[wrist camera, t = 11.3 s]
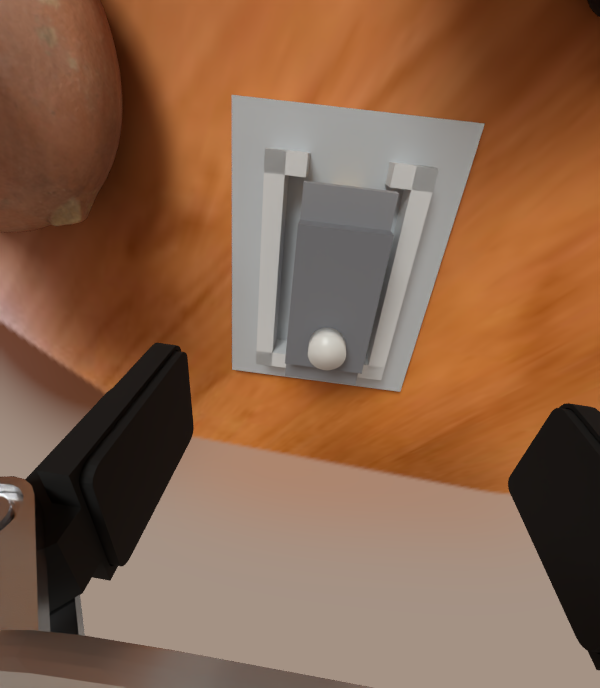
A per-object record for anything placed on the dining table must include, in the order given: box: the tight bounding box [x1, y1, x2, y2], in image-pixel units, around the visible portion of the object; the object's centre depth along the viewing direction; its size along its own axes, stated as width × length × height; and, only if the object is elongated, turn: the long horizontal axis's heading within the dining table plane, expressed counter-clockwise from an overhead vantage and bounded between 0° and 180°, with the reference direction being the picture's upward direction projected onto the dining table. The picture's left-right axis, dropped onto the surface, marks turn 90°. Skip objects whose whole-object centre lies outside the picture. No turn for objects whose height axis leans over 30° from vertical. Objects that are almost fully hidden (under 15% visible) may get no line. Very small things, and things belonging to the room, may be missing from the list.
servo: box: [285, 181, 399, 385], centre depth 18 cm, size 4×10×6 cm, turn 174°
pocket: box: [232, 95, 485, 392], centre depth 20 cm, size 12×16×2 cm
